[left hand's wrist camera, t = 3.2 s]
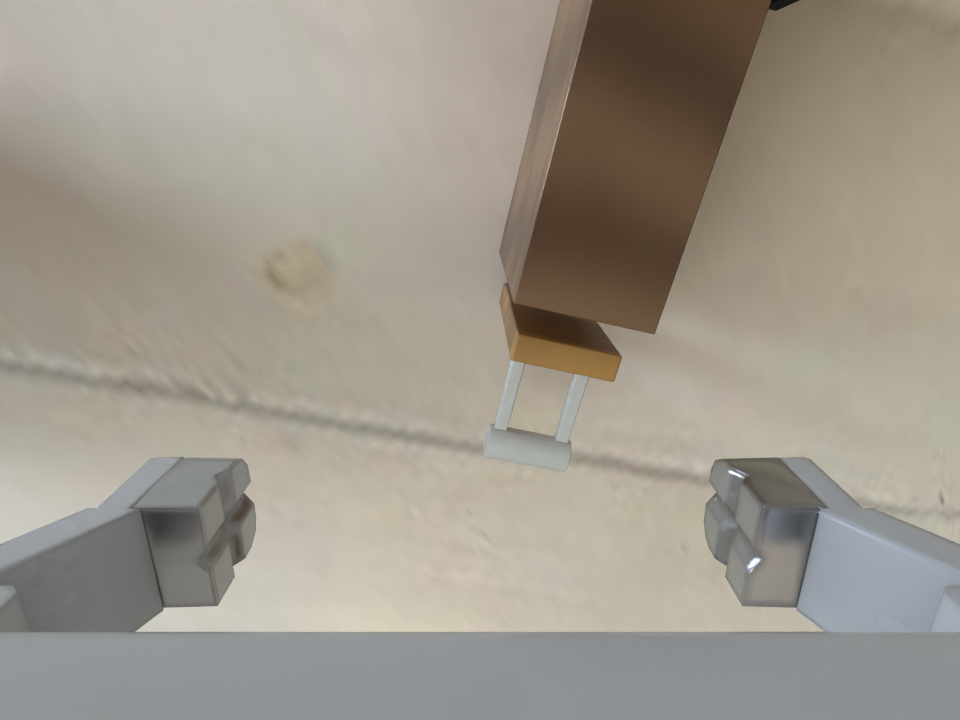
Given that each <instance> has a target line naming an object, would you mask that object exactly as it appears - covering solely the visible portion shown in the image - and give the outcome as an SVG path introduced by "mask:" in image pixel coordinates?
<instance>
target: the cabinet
mask: <svg viewBox="0 0 960 720" xmlns="http://www.w3.org/2000/svg"><path fill="white" fill-rule="evenodd" d="M770 3H771V0H560V3H559V7H558V12H557V16H556V20H555V24H554V28H553V32H552V36H551V40H550V45H549V49H548V53H547V57H546V61H545V65H544V69H543V73H542V78H541V82H540V86H539V90H538V94H537V98H536V102H535V106H534V110H533V115H532V119H531V123H530V127H529V131H528V135H527V139H526V143H525V148H524V152H523V156H522V160H521V164H520V168H519V172H518V176H517V181H516V185H515V189H514V193H513V197H512V201H511V205H510V209H509V214H508V218H507V222H506V226H505V230H504V234H503V238H502V242H501V247H500V251H499V252H500V256H501V259H502V263H503V266H504V270H505V273H506V277H507V280H508V284H509V287H510V291H511V294H512V299H513V302H514V303H516V304H520V305H525V306H529V307H534V308H538V309H543V310H547V311H552V312H556V313H561V314H565V315H570V316H574V317H579V318H583V319H588V320H592V321H597V322H601V323H606V324H610V325H615V326H619V327H624V328H628V329H633V330H637V331H642V332H646V333H651V334H655V331H656V328H657V326H658V323H659V320H660V317H661V314H662V311H663V308H664V306H665V303H666V300H667V297H668V294H669V291H670V288H671V286H672V283H673V280H674V277H675V274H676V271H677V268H678V266H679V263H680V260H681V257H682V254H683V251H684V249H685V246H686V243H687V240H688V237H689V234H690V231H691V229H692V226H693V223H694V220H695V217H696V214H697V211H698V209H699V206H700V203H701V200H702V197H703V194H704V191H705V189H706V186H707V183H708V180H709V177H710V174H711V171H712V169H713V166H714V163H715V160H716V157H717V154H718V151H719V149H720V146H721V143H722V140H723V137H724V134H725V131H726V129H727V126H728V123H729V120H730V117H731V114H732V111H733V109H734V106H735V103H736V100H737V97H738V94H739V92H740V89H741V86H742V83H743V80H744V77H745V74H746V72H747V69H748V66H749V63H750V60H751V57H752V54H753V52H754V49H755V46H756V43H757V40H758V37H759V34H760V32H761V29H762V26H763V23H764V20H765V17H766V14H767V12H768V9H769V6H770Z"/></svg>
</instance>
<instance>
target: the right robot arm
mask: <svg viewBox="0 0 960 720" xmlns="http://www.w3.org/2000/svg"><path fill="white" fill-rule="evenodd" d="M797 1H799V0H771V3H770V6H769V9H771V10H774V11H776V10H779V9H781V8H783V7H785V6H788V5H790V4H792V3H794V2H797Z"/></svg>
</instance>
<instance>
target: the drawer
mask: <svg viewBox="0 0 960 720" xmlns="http://www.w3.org/2000/svg"><path fill="white" fill-rule="evenodd" d="M500 306H501V311H502V317H503V322H504V327H505V332H506V337H507V342H508V348H509V353H510V358H511V362H510V365H509V369H508V373H507V377H506V380H505V384H504V388H503V392H502V396H501V399H500V403H499V407H498V411H497V414H496V418H495V422H494V424H489V425H488V427H487V430H486V434H485V438H484V444H483V456H485V457H490V458H495V459H500V460H505V461H510V462H515V463H520V464H525V465H530V466H536V467H541V468H546V469H551V470H556V471H561V472H564V471H566V469H567V467H568V465H569V461H570V457H571V442H570V440H569V438H570V435H571V432H572V428H573V425H574V422H575V419H576V416H577V413H578V410H579V407H580V403H581V400H582V397H583V394H584V391H585V388H586V385H587V381H588V378H589V377H592V378H596V379H601V380H606V381H610V382H614V380H615V377H616V374H617V371H618V368H619V365H620V362H621V359H622V356H621V355H620V353H619V352H618V351H617V349H616V348H615V346H614V345H613V344H612V342H611V341H610V340H609V338H608V337H607V335H606V334H605V333H604V331H603V330H602V329H601V327H600V326H599V324H598V323H597V322H596V321H592V320H588V319H583V318H579V317H574V316H570V315H565V314H561V313H556V312H552V311H547V310H543V309H538V308H534V307H529V306H525V305H520V304H516V303H514V302H513V299H512V294H511V291H510V287H509V284H508V283H505V284H504V286H503V290H502V294H501V298H500ZM525 363H526V364H531V365H535V366H540V367H545V368H550V369H554V370H559V371H564V372H568V373H573V377H572V380H571V383H570V387H569V390H568V393H567V396H566V400H565V403H564V406H563V409H562V412H561V416H560V419H559V422H558V425H557V429H556V432H555V437H554V436H549V435H544V434H539V433H534V432H529V431H524V430H519V429H514V428H509V427H508V424H509V420H510V417H511V413H512V410H513V406H514V402H515V399H516V395H517V391H518V388H519V384H520V381H521V377H522V373H523V370H524V366H525Z"/></svg>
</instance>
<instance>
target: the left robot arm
mask: <svg viewBox="0 0 960 720" xmlns="http://www.w3.org/2000/svg"><path fill="white" fill-rule="evenodd" d="M250 482H251V480H250V475H249V470H248V465H247V464H246V462H245V461H244V460H243V459H234V458H183V457H164V458H151V459H150V460H148V461H147V462H146V463H145V464H144V465H143V466H142V467H141V468H140V469H139V470H138V471H137V472H136V473H134V474H133V475H132V476H131V477H130V478H129V479H128V480H127V481H126V482H125V483H124V484H123V485H122V486H120V487H119V488H118V489H117V490H116V491H115V492H114V493H113V494H112V495H111V496H110V497H109V498H107V499H106V500H105V501H104V502H103V503H102V504H101V505H100V506H99V507H98V508H91V509H85V510H82V511H80V512H77V513H75V514H73V515H70V516H68V517H65V518H63V519H60V520H58V521H56V522H53V523H51V524H48V525H46V526H43V527H41V528H39V529H36V530H34V531H31V532H29V533H26V534H24V535H22V536H19V537H17V538H14V539H12V540H9V541H7V542H5V543H2V544H0V720H960V544H958V543H955V542H953V541H950V540H948V539H945V538H943V537H941V536H938V535H936V534H933V533H931V532H929V531H926V530H924V529H921V528H919V527H916V526H914V525H912V524H909V523H907V522H904V521H902V520H900V519H897V518H895V517H892V516H890V515H887V514H885V513H883V512H880V511H878V510H875V509H870V508H862V507H861V506H860V505H859V504H858V503H857V502H856V501H855V500H854V499H853V498H852V497H850V496H849V495H848V494H847V493H846V492H845V491H844V490H843V489H842V488H841V487H840V486H839V485H838V484H836V483H835V482H834V481H833V480H832V479H831V478H830V477H829V476H828V475H827V474H826V473H825V472H824V471H822V470H821V469H820V468H819V467H818V466H817V465H816V464H815V463H814V462H813V461H812V460H811V459H808V458H805V457H788V458H741V459H719V460H715V462H714V464H713V466H712V469H711V474H710V480H709V482H710V483H711V485H712V486H713V488H714V489H715V491H716V492H717V493H716V494H715V495H714V496H713V497H712V498H711V499H710V500H709V501H708V502H707V503H706V507H705V515H704V527H705V537H706V540H707V543H708V546H709V549H710V550H711V552H712V554H713V556H714V558H715V559H717V560H718V561H720V562H722V563H723V564H725V565H726V566H727V569H726V575H725V577H726V579H727V580H728V582H729V584H730V586H731V587H732V589H733V591H734V592H735V594H736V596H737V598H738V599H739V601H740V603H741V604H742V606H760V607H796V608H797V611H799V612H800V613H801V614H803V615H804V616H805V617H807V618H808V619H809V620H811V621H812V622H813V623H815V624H816V625H817V626H819V627H820V628H821V629H822V630H824V631H825V632H135V631H136V630H138V629H139V628H140V627H142V626H143V625H144V624H146V623H147V622H148V621H150V620H151V619H152V618H154V617H155V616H156V615H158V614H159V613H160V612H162V611H163V608H164V607H199V606H218V605H219V603H220V601H221V599H222V598H223V596H224V594H225V593H226V591H227V589H228V587H229V586H230V584H231V582H232V580H233V579H234V577H235V575H234V569H233V566H234V565H235V564H237V563H238V562H240V561H242V560H243V559H245V558H246V556H247V554H248V552H249V550H250V549H251V547H252V543H253V539H254V535H255V531H256V513H255V506H254V503H253V502H252V501H251V500H250V499H249V498H248V497H247V496H246V495H245V494H244V491H245V489H246V488H247V486H248V485H249V483H250Z"/></svg>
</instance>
